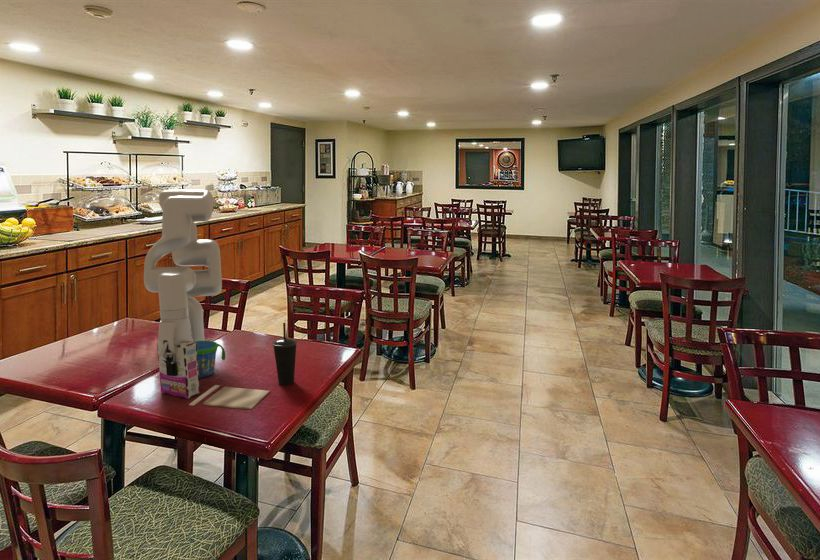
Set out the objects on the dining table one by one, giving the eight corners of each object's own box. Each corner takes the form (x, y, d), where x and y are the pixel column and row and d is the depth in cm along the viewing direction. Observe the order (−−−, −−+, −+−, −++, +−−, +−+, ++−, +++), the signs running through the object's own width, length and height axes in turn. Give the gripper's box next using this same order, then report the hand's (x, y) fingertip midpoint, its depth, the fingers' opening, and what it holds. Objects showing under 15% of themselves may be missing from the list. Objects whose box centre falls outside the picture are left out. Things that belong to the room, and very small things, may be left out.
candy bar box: (201, 393, 154) (197, 341, 151) (188, 399, 149) (184, 346, 146) (173, 387, 158) (169, 336, 155) (160, 393, 154) (155, 341, 150)
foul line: (189, 405, 146) (188, 404, 146) (215, 385, 159) (214, 385, 159) (193, 405, 146) (193, 404, 146) (219, 386, 159) (219, 385, 159)
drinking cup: (276, 378, 166) (274, 319, 162) (299, 377, 167) (298, 319, 163) (271, 387, 159) (269, 326, 155) (296, 387, 160) (294, 326, 156)
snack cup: (222, 364, 177) (220, 337, 175) (230, 374, 169) (229, 345, 167) (173, 373, 168) (171, 344, 166) (180, 384, 160) (178, 354, 158)
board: (202, 404, 146) (202, 403, 146) (224, 388, 158) (224, 386, 158) (251, 409, 144) (251, 407, 144) (269, 392, 155) (269, 390, 155)
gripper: (180, 305, 158) (184, 360, 161) (143, 320, 141) (148, 381, 145) (202, 307, 156) (206, 362, 160) (167, 322, 140) (172, 383, 143)
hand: (178, 370), depth 152 cm, fingers closed on candy bar box, 5 cm apart
